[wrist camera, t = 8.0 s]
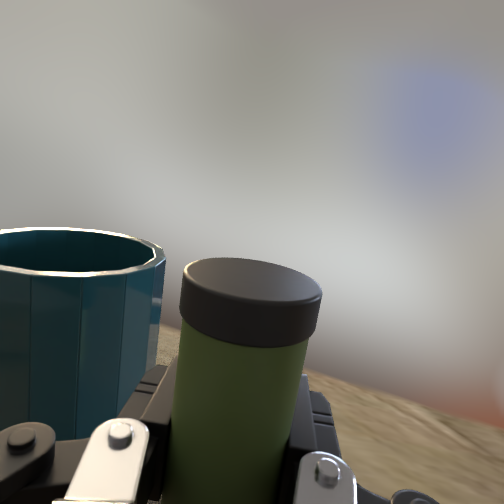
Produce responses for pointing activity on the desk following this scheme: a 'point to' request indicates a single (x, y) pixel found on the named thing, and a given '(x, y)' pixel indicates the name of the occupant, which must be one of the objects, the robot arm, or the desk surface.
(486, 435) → the desk surface
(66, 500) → the robot arm
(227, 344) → the tube
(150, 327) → the cup
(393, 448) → the desk surface
